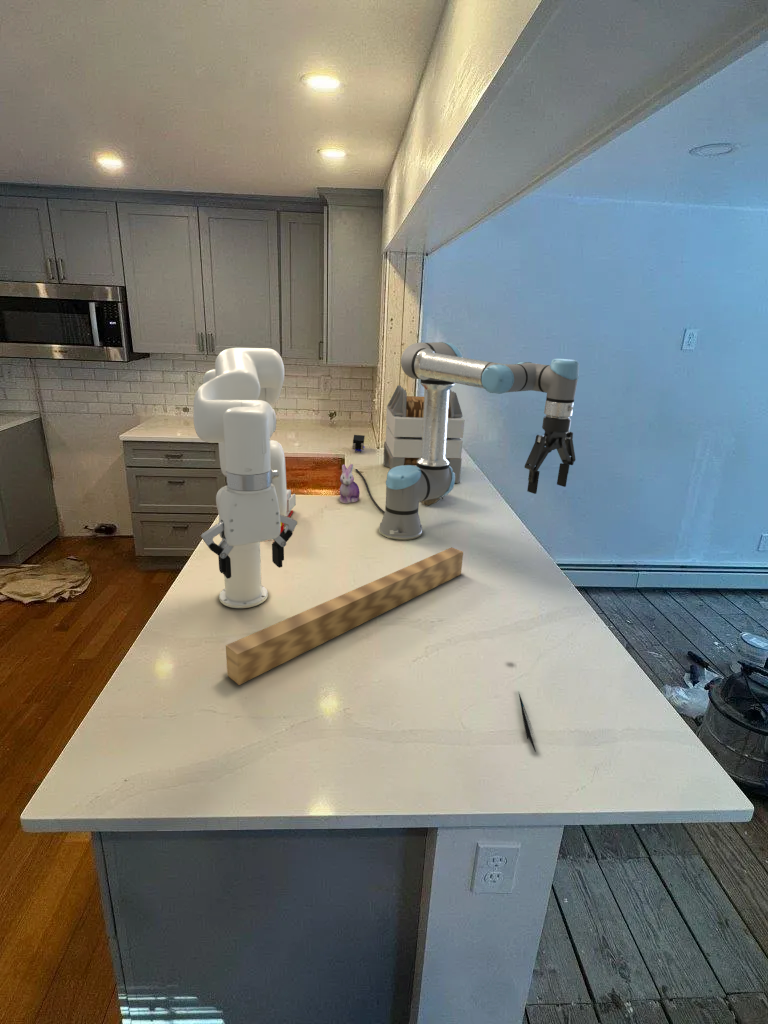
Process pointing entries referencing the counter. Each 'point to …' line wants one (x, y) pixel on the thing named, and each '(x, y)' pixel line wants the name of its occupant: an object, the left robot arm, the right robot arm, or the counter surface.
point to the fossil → (430, 501)
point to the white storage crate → (419, 431)
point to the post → (337, 616)
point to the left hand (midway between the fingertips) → (252, 569)
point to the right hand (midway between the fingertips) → (546, 488)
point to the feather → (526, 723)
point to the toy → (289, 506)
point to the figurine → (348, 486)
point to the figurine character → (358, 442)
